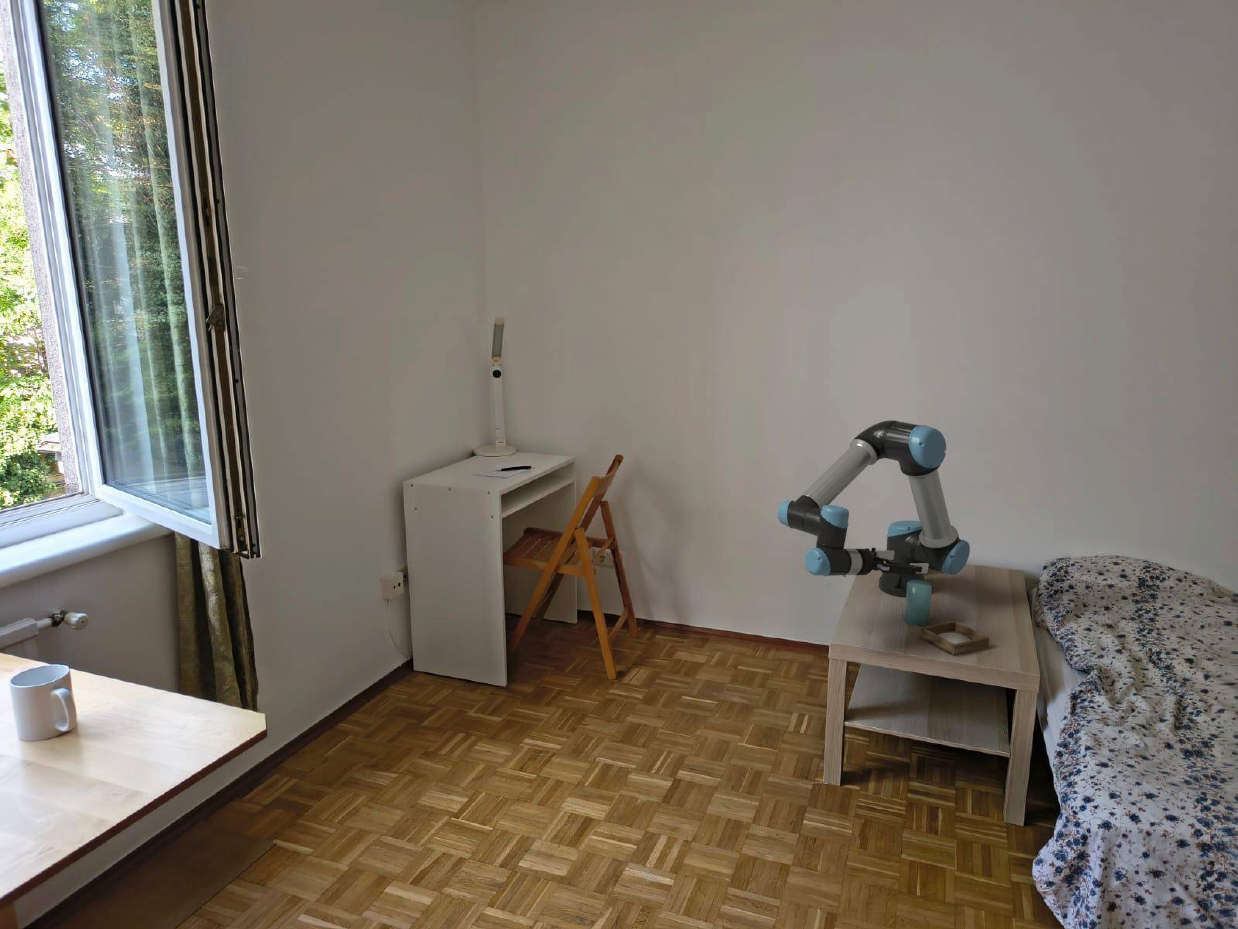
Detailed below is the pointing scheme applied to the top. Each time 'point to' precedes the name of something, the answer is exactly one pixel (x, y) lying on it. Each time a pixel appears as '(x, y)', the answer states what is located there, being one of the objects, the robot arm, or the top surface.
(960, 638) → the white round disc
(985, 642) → the walnut tray
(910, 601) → the teal cylinder
